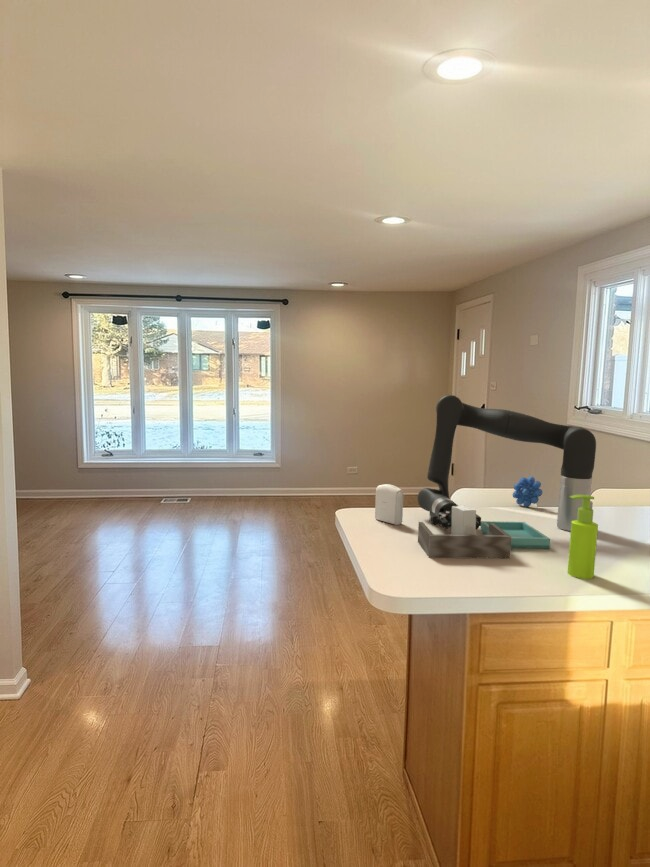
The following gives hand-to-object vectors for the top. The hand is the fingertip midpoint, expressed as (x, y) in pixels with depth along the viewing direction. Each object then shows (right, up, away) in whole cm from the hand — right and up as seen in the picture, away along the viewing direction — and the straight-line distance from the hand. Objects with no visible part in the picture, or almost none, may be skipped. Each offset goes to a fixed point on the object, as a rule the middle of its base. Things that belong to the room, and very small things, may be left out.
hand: (461, 525), depth 150 cm
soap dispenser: (+25, -9, -17) cm, 31 cm away
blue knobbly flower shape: (+39, -2, +55) cm, 68 cm away
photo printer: (-17, -4, +28) cm, 33 cm away
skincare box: (0, -7, 0) cm, 7 cm away
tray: (+18, -6, +11) cm, 23 cm away
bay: (0, -7, 0) cm, 7 cm away
